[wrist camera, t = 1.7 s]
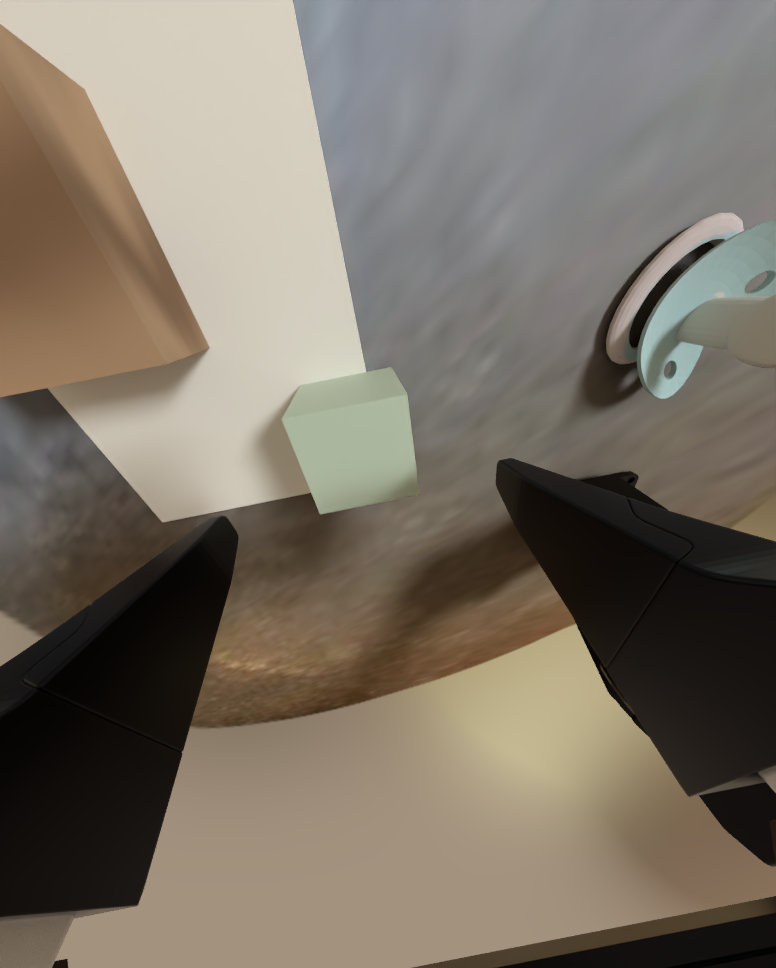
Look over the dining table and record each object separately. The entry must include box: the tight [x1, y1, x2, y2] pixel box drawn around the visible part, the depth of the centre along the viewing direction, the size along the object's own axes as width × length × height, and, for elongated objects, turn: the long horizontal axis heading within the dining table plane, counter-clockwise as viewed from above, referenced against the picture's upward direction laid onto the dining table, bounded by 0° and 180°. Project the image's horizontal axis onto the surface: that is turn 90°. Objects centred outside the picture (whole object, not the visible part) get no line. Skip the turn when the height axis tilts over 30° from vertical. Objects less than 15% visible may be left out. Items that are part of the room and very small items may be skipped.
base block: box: [0, 24, 210, 397], centre depth 9 cm, size 7×7×4 cm
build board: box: [0, 0, 366, 522], centre depth 12 cm, size 18×14×1 cm
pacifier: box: [606, 213, 776, 399], centre depth 12 cm, size 7×6×6 cm
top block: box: [282, 367, 419, 514], centre depth 13 cm, size 4×4×4 cm
